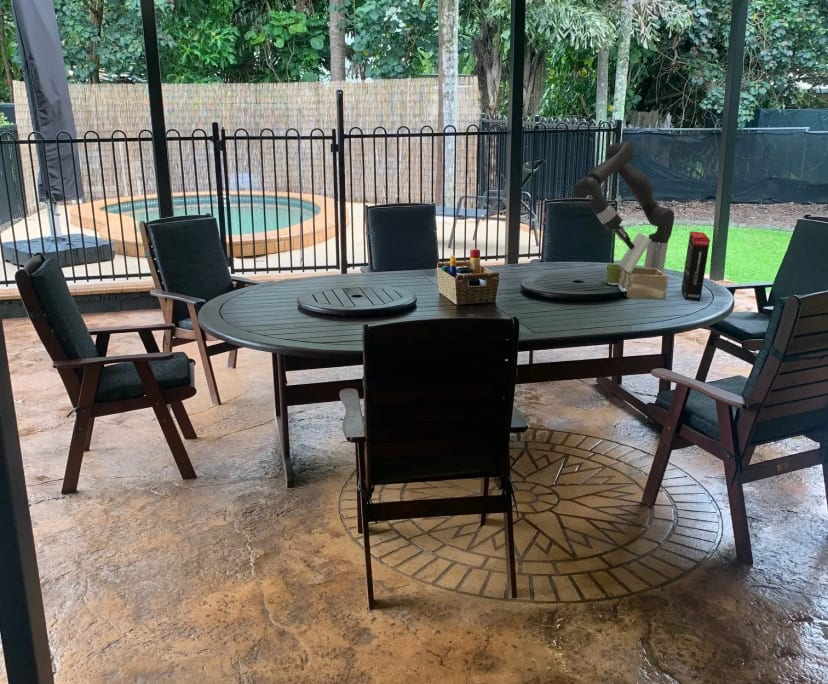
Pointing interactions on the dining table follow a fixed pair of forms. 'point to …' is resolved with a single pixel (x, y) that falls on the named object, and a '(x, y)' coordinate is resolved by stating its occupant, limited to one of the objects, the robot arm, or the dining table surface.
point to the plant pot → (613, 273)
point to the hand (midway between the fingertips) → (632, 247)
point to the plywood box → (644, 283)
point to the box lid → (634, 253)
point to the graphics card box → (695, 265)
